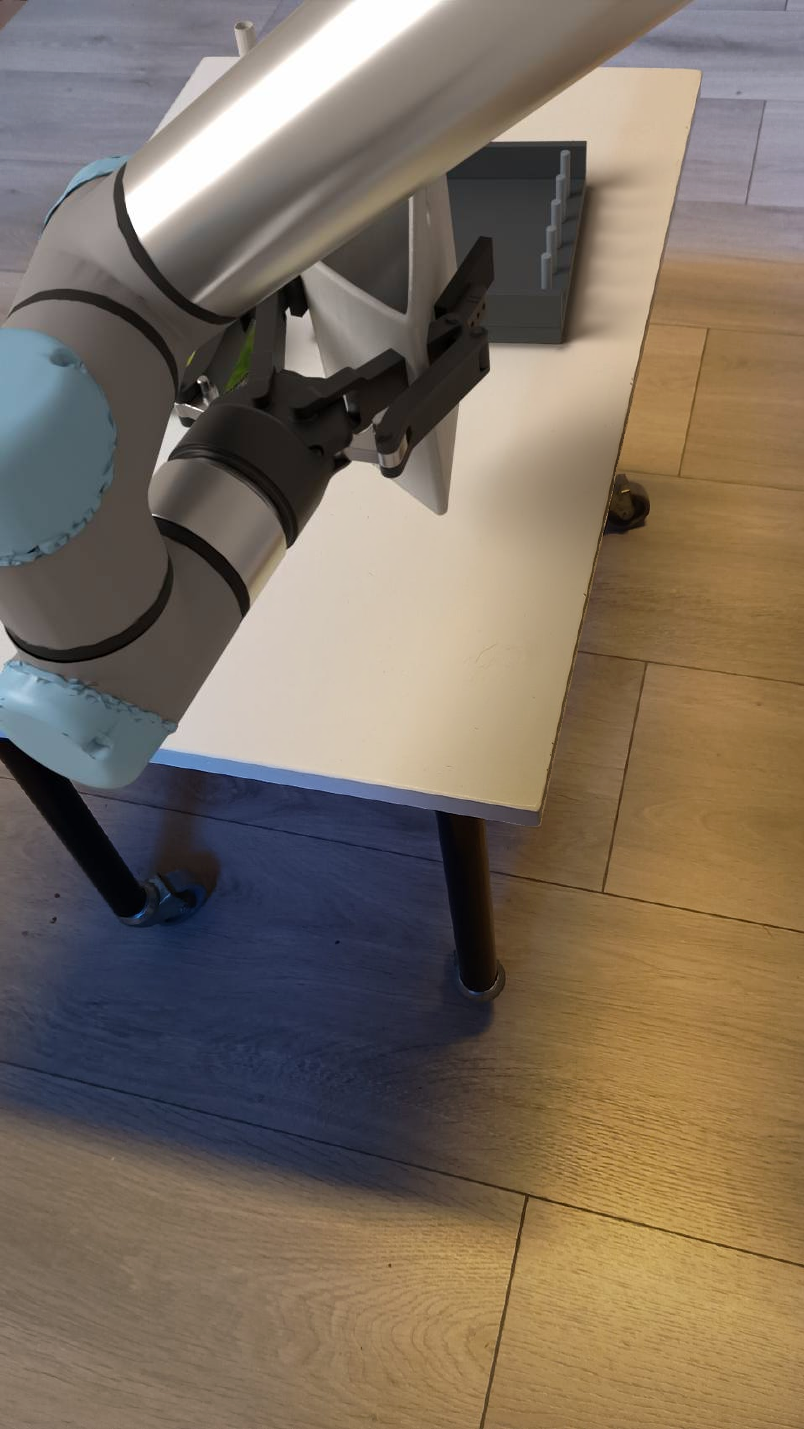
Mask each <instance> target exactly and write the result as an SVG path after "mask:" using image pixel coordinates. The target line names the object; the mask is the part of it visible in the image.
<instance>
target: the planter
mask: <svg viewBox="0 0 804 1429" xmlns="http://www.w3.org/2000/svg"><path fill="white" fill-rule="evenodd" d="M456 271H457V264H456V255H455V246H454V238H453V229H452V220H451V211H450V203H449V194H448V186H447V178H446V173H445V174H444V175H442V176H441V177H439V178H438V179H436V180H435V181H434V182H432V183H431V184H429V185H428V186H426V187H425V188H424V189H422V190H421V191H419V192H418V193H416V194H415V195H413V196H412V197H411V198H409V199H408V200H406V201H405V202H403V203H402V204H401V205H399V206H398V207H396V208H395V209H393V210H392V211H390V212H389V213H388V214H386V215H385V216H383V217H382V218H380V219H379V220H378V221H376V222H375V223H373V224H372V225H370V226H369V227H367V228H366V229H365V230H363V231H362V232H360V233H359V234H357V235H356V236H355V237H353V238H352V239H350V240H349V241H347V242H346V243H344V244H343V245H342V246H340V247H339V248H337V249H336V250H334V251H333V252H332V253H330V254H329V255H327V256H326V257H324V258H323V259H321V260H320V261H319V262H317V263H316V264H314V265H313V266H311V267H310V268H309V269H307V270H306V271H304V272H303V273H301V274H300V277H301V281H302V285H303V289H304V293H305V297H306V301H307V305H308V312H309V318H310V320H311V324H312V329H313V333H314V335H315V340H316V346H317V348H318V352H319V357H320V361H321V365H322V368H323V373H324V378H326V379H327V378H328V377H330V376H332V375H333V374H335V373H336V372H338V371H340V370H341V369H343V368H345V367H351V368H353V369H357V368H358V367H360V366H362V365H363V364H365V363H367V362H368V361H370V360H371V359H373V358H375V357H376V356H378V355H380V354H381V353H383V352H384V351H386V350H388V349H389V348H392V349H393V350H395V351H396V352H397V353H399V354H400V355H402V356H403V357H405V361H406V368H407V375H408V383H409V386H410V385H411V384H412V383H413V382H414V381H415V380H416V379H417V378H418V377H419V376H420V375H421V374H422V373H424V372H425V371H426V370H427V369H428V368H429V367H430V365H429V358H428V352H427V346H426V343H427V335H428V328H429V324H430V323H431V322H433V321H435V311H434V305H435V303H436V302H437V300H438V298H439V297H440V295H441V294H442V292H443V291H444V289H445V288H446V286H447V285H448V283H449V282H450V280H451V279H452V277H453V276H454V274H455V273H456ZM344 400H345V404H346V408H347V412H348V406H347V401H346V396H345V395H344ZM388 408H389V407H388ZM388 408H386V409H384V410H383V411H381V412H380V413H378V414H377V415H376V416H380V417H383V415H384V414H385V412H386V410H387V409H388ZM459 409H460V402H459V403H458V404H457V405H456V406H455V407H454V408H453V409H452V410H451V411H450V412H449V413H448V414H447V415H446V416H445V417H444V418H443V419H442V420H441V421H440V422H439V423H438V424H437V425H436V426H435V427H434V428H433V429H432V430H431V431H430V432H429V433H428V434H427V435H426V436H425V437H424V438H423V439H422V440H421V441H420V442H419V443H418V444H417V445H416V446H415V447H414V448H413V450H412V452H411V454H410V457H409V459H408V461H407V464H406V466H405V468H404V471H403V473H402V474H401V475H400V476H398V477H396V478H389V480H391V481H392V482H393V483H395V484H396V485H397V486H398V487H400V488H401V489H402V490H404V491H405V492H406V493H408V494H409V495H410V496H411V497H413V498H414V499H415V500H416V501H418V502H420V503H421V504H422V505H423V506H425V507H426V508H427V509H428V510H430V511H431V512H433V513H434V514H435V515H436V516H439V517H440V516H444V515H446V513H448V510H449V499H450V490H451V481H452V473H453V472H452V471H453V465H454V464H453V463H454V455H455V444H456V436H457V427H458V418H459V411H460V410H459ZM376 416H375V417H376ZM371 426H372V424H371V425H370V426H369V427H368V428H367V429H365V430H364V431H362V432H361V433H364V432H366V431H367V430H368V429H369V428H370V427H371ZM361 433H359V434H361ZM371 464H372V465H373V466H374V467H375V468H376V469H377V470H379V471H380V465H379V464H373V463H371Z"/></svg>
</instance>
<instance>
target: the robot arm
mask: <svg viewBox="0 0 804 1429" xmlns="http://www.w3.org/2000/svg"><path fill="white" fill-rule="evenodd" d="M694 1H695V0H304V1H303V3H301V4H300V5H299V6H298V7H297V8H296V9H295V10H293V11H292V12H291V13H290V14H289V15H287V17H285V18H284V19H283V20H282V21H281V22H280V23H279V24H278V25H277V26H275V28H273V29H272V30H271V31H270V32H269V33H267V35H265V36H264V37H263V38H262V39H261V40H260V41H259V42H258V43H256V44H257V45H256V46H255V47H253V48H252V49H251V50H250V51H249V52H248V53H247V54H246V55H244V56H243V57H242V58H241V59H240V58H239V60H238V61H237V62H235V63H234V64H233V65H232V66H231V67H230V68H228V69H227V70H226V72H224V73H223V74H222V75H220V77H219V78H217V79H216V81H214V82H213V83H212V84H211V85H210V86H209V87H208V88H206V89H205V90H204V91H203V92H202V93H201V94H200V95H199V96H197V98H195V99H194V100H192V102H191V103H190V104H189V105H187V107H185V108H184V109H183V110H182V111H181V112H179V114H177V115H176V116H175V117H174V118H172V120H171V121H170V122H168V123H167V124H166V125H165V126H164V127H163V128H162V129H161V130H160V131H159V132H157V133H156V134H155V135H154V136H153V137H152V138H151V139H150V140H148V141H147V142H146V143H145V144H144V145H143V146H142V147H141V148H140V149H138V150H137V151H136V152H135V153H134V154H124V155H118V156H110V157H105V158H100V159H96V160H94V161H92V162H90V163H89V164H87V165H86V166H85V167H82V168H81V169H80V171H78V172H77V173H76V174H75V176H73V178H72V179H71V181H70V182H69V184H68V185H67V187H66V189H65V191H64V192H63V194H62V195H61V196H60V197H59V199H57V201H56V202H55V204H54V205H53V206H52V208H51V209H50V210H49V212H48V213H47V215H46V217H45V219H44V222H43V226H42V230H41V232H40V234H39V237H38V241H37V245H36V247H35V250H34V252H33V255H32V256H31V260H30V261H29V264H28V266H27V269H26V271H25V273H24V276H23V278H22V280H21V283H20V285H19V287H18V290H17V291H16V295H15V297H14V299H13V301H12V304H11V307H10V308H9V311H8V313H7V316H6V318H5V320H4V322H3V324H2V326H1V327H0V622H1V624H2V625H3V629H4V632H5V634H6V636H7V638H8V639H9V641H10V643H11V644H12V646H13V647H14V648H15V649H16V651H17V652H15V654H14V656H13V657H11V658H10V659H8V660H7V661H6V662H5V663H3V668H2V671H1V672H0V732H1V733H3V735H4V736H5V737H6V738H8V739H9V741H11V743H13V744H14V745H15V746H16V747H18V749H20V750H21V751H22V752H24V753H25V754H26V755H28V756H29V757H31V758H32V759H33V760H35V761H36V762H38V763H40V764H41V765H42V766H44V767H46V768H48V769H49V770H50V771H53V772H55V773H57V774H59V775H60V776H63V777H65V778H67V779H69V780H72V781H74V782H77V783H80V784H82V785H84V786H87V787H91V788H96V789H103V790H115V789H120V788H124V787H126V786H128V785H130V784H132V783H133V782H134V781H136V780H137V779H138V778H139V776H140V775H141V774H142V772H143V771H144V769H146V767H147V765H148V764H149V763H150V762H151V761H152V759H153V757H154V756H155V754H156V753H157V752H158V750H159V749H160V748H161V746H162V745H163V744H164V742H165V741H166V740H167V738H168V736H171V735H172V734H174V733H176V732H177V730H178V728H179V723H180V722H181V721H182V719H183V718H184V716H185V714H186V712H187V711H188V710H189V708H190V706H191V705H192V703H193V701H194V700H195V698H196V696H197V695H198V693H199V692H200V690H201V689H202V687H203V685H204V684H205V682H206V681H207V679H208V677H209V676H210V675H211V672H212V671H213V669H214V668H215V666H216V665H217V663H218V662H219V660H220V659H221V657H222V656H223V654H224V652H225V651H226V649H227V647H228V646H229V644H230V642H231V641H232V639H233V638H234V637H235V634H236V633H237V631H238V630H239V628H240V627H241V623H242V622H243V620H244V619H245V617H246V616H247V615H248V614H249V612H250V610H251V608H252V607H253V606H254V604H255V603H256V600H257V599H258V598H259V596H260V595H261V593H262V591H263V590H264V588H265V587H266V585H267V584H268V582H269V581H270V579H271V578H272V576H273V575H274V573H275V572H276V570H277V569H278V567H279V565H280V564H281V562H282V561H283V559H284V558H285V557H286V552H287V550H289V549H290V548H292V546H294V544H295V543H296V541H297V540H298V538H299V537H300V535H301V533H302V532H303V531H304V529H305V528H306V525H307V524H308V523H309V521H310V520H311V518H312V517H313V515H314V514H315V512H316V511H317V509H318V508H319V506H320V504H321V502H322V500H323V499H324V496H325V494H326V491H327V488H328V486H329V483H330V482H331V479H332V478H333V477H334V476H335V475H336V474H338V473H339V472H340V471H343V470H344V469H345V468H348V467H349V466H350V465H351V464H352V462H360V463H367V464H372V463H373V464H379V465H380V470H379V471H380V474H381V476H383V477H384V478H386V479H390V478H396V477H398V476H400V475H401V474H402V473H403V471H404V468H405V466H406V464H407V461H408V459H409V457H410V454H411V452H412V450H413V448H414V447H415V446H416V445H417V444H418V443H419V442H420V441H421V440H422V439H423V438H424V437H425V436H426V435H427V434H428V433H429V432H430V431H431V430H432V429H433V428H434V427H435V426H436V425H437V424H438V423H439V422H440V421H441V420H442V419H443V418H444V417H445V416H446V415H447V414H448V413H449V412H450V411H451V410H452V409H453V408H454V407H455V406H456V405H457V404H458V403H459V404H460V402H461V401H462V400H463V399H464V398H465V397H466V396H468V395H469V393H470V392H471V391H472V390H474V388H475V387H476V386H477V385H479V383H481V382H482V380H483V379H484V378H485V377H486V376H487V375H488V374H489V373H490V371H491V356H490V355H491V354H490V342H489V340H488V330H487V329H486V328H484V327H482V326H479V325H480V323H481V322H482V319H484V317H485V315H486V314H487V303H486V292H487V290H488V288H489V287H490V285H491V284H492V282H493V280H494V262H493V243H492V238H490V237H485V236H480V237H479V238H478V240H477V241H476V243H475V244H474V246H473V247H472V249H471V250H470V252H469V253H468V255H467V256H466V258H465V259H464V261H463V262H462V264H461V265H460V267H459V268H458V270H457V271H456V273H455V274H454V276H453V277H452V279H451V280H450V282H449V283H448V285H447V286H446V288H445V289H444V291H443V292H442V294H441V295H440V297H439V298H438V300H437V302H436V303H435V305H434V311H435V321H433V322H431V323H430V324H429V328H428V335H427V343H426V346H427V352H428V358H429V365H430V367H429V368H428V369H427V370H426V371H425V372H424V373H422V374H421V375H420V376H419V377H418V378H417V379H416V380H415V381H414V382H413V383H412V384H411V385H410V386H409V383H408V375H407V368H406V361H405V357H403V356H402V355H400V354H399V353H397V352H396V351H395V350H393V349H392V348H389V349H388V350H386V351H384V352H383V353H381V354H380V355H378V356H376V357H375V358H373V359H371V360H370V361H368V362H367V363H365V364H363V365H362V366H360V367H358V368H357V369H353V368H351V367H345V368H343V369H341V370H340V371H338V372H336V373H335V374H333V375H332V376H330V377H328V378H327V379H326V377H322V376H305V375H303V374H300V373H299V372H297V371H295V370H291V369H286V368H285V365H286V344H287V325H288V316H287V313H286V312H287V311H288V309H289V314H290V316H291V317H297V318H301V319H302V318H303V317H304V316H305V314H306V313H307V312H308V311H309V309H308V305H307V301H306V297H305V293H304V289H303V285H302V281H301V277H300V274H301V273H303V272H304V271H306V270H307V269H309V268H310V267H311V266H313V265H314V264H316V263H317V262H319V261H320V260H321V259H323V258H324V257H326V256H327V255H329V254H330V253H332V252H333V251H334V250H336V249H337V248H339V247H340V246H342V245H343V244H344V243H346V242H347V241H349V240H350V239H352V238H353V237H355V236H356V235H357V234H359V233H360V232H362V231H363V230H365V229H366V228H367V227H369V226H370V225H372V224H373V223H375V222H376V221H378V220H379V219H380V218H382V217H383V216H385V215H386V214H388V213H389V212H390V211H392V210H393V209H395V208H396V207H398V206H399V205H401V204H402V203H403V202H405V201H406V200H408V199H409V198H411V197H412V196H413V195H415V194H416V193H418V192H419V191H421V190H422V189H424V188H425V187H426V186H428V185H429V184H431V183H432V182H434V181H435V180H436V179H438V178H439V177H441V176H442V175H444V174H445V173H447V172H448V171H449V170H451V169H452V168H454V167H455V166H457V165H458V164H459V163H461V162H462V161H464V160H465V159H467V158H468V157H470V156H471V155H472V154H474V153H475V152H477V151H478V150H480V149H481V148H482V147H484V146H485V145H487V144H488V143H490V142H494V140H495V139H497V138H498V137H500V136H501V135H503V134H504V133H505V132H507V131H509V130H510V129H512V128H513V127H514V126H516V125H517V124H519V123H521V121H523V120H525V119H526V118H527V117H529V116H530V115H531V114H533V113H534V112H536V111H537V110H539V109H540V108H542V107H543V106H545V105H546V104H547V103H549V102H550V101H552V100H553V99H555V97H558V96H559V95H560V94H561V93H563V92H564V91H566V90H567V89H569V88H570V87H572V86H573V85H575V84H576V83H578V82H579V81H580V80H581V79H583V78H585V77H586V76H588V75H589V74H591V73H592V72H593V71H595V70H596V69H598V68H599V67H601V66H602V65H603V64H605V63H606V62H607V61H609V60H611V59H612V58H613V57H615V56H617V55H618V54H619V53H621V52H622V51H623V50H625V49H626V48H628V47H630V46H631V45H632V44H633V43H635V42H637V41H638V40H639V39H641V38H643V37H644V36H645V35H646V34H648V33H649V32H651V31H652V30H654V29H655V28H657V27H658V26H659V25H661V24H662V23H664V22H666V21H668V19H670V18H672V16H674V15H675V14H676V13H678V12H680V11H681V10H683V9H684V8H685V7H687V6H689V4H691V3H692V2H694ZM253 326H254V330H255V331H254V344H253V352H250V362H249V372H248V376H247V379H246V382H245V384H242V385H240V386H238V387H236V388H234V389H232V390H228V391H227V392H225V389H226V387H227V385H228V382H229V380H230V378H231V376H232V373H233V371H234V369H235V366H236V364H237V362H238V359H239V357H240V355H241V352H242V350H243V348H244V346H245V343H246V341H247V339H248V336H249V334H250V332H251V329H252V327H253ZM194 352H195V353H194ZM193 353H194V355H193V357H192V360H191V362H190V364H189V365H188V366H187V363H188V360H189V359H190V357H191V356H192V354H193ZM186 366H187V367H186ZM224 392H225V393H224ZM344 395H345V396H346V401H347V406H348V412H347V408H346V404H345V400H344ZM388 407H389V408H388ZM386 408H388V409H387V410H386V412H385V414H384V415H383V417H380V416H376V415H377V414H378V413H380V412H381V411H383V410H384V409H386ZM174 409H175V412H176V414H177V416H178V420H179V422H180V424H181V426H182V427H184V428H187V431H186V432H185V433H184V435H183V436H182V437H181V438H180V440H179V441H178V443H177V444H176V445H175V447H173V449H172V450H171V452H170V453H169V455H168V457H167V460H166V461H165V462H163V463H162V464H161V466H160V467H158V468H157V470H156V471H155V469H156V466H157V463H158V460H159V456H160V452H161V449H162V445H163V442H164V438H165V435H166V431H167V428H168V424H169V421H170V418H171V414H172V412H173V410H174ZM375 416H376V417H375ZM371 424H372V426H371V427H370V428H369V429H368V430H367V431H366V432H364V433H361V432H362V431H364V430H365V429H367V428H368V427H369V426H370V425H371ZM359 433H361V434H359ZM373 464H372V465H373Z"/></svg>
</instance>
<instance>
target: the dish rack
mask: <svg viewBox="0 0 804 1429" xmlns="http://www.w3.org/2000/svg"><path fill="white" fill-rule="evenodd" d="M587 156H588V141H587V140H530V141H529V140H524V141H523V140H522V141H521V140H519V141H517V140H515V141H512V140H511V141H508V140H507V141H491V142H490V143H488V144H487V145H485V146H484V147H482V148H481V149H480V150H478V151H477V152H475V153H474V154H472V155H471V156H470V157H468V158H467V159H465V160H464V161H462V162H461V163H459V164H458V165H457V166H455V167H454V168H452V169H451V170H449V171H448V172H447V173H446V178H447V186H448V194H449V203H450V211H451V220H452V229H453V238H454V246H455V255H456V264H457V270H458V268H459V267H460V265H461V264H462V262H463V261H464V259H465V258H466V256H467V255H468V253H469V252H470V250H471V249H472V247H473V246H474V244H475V243H476V241H477V240H478V238H479V237H480V236H485V237H490V238H492V243H493V262H494V280H493V282H492V284H491V285H490V287H489V288H488V290H487V292H486V303H487V314H486V315H485V317H484V319H482V322H481V323H480V325H479V326H482V327H484V328H486V329H487V330H488V340H489V343H518V344H519V343H521V344H557V345H559V344H560V345H561V343H562V340H563V339H562V338H563V333H564V327H565V320H566V314H567V308H568V304H569V303H568V301H569V295H570V290H571V284H572V283H571V282H572V277H573V272H574V265H575V259H576V252H577V246H578V241H579V233H580V227H581V221H582V215H583V209H584V202H585V198H586V197H585V196H586V191H587V187H586V186H587V159H588V158H587Z"/></svg>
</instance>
